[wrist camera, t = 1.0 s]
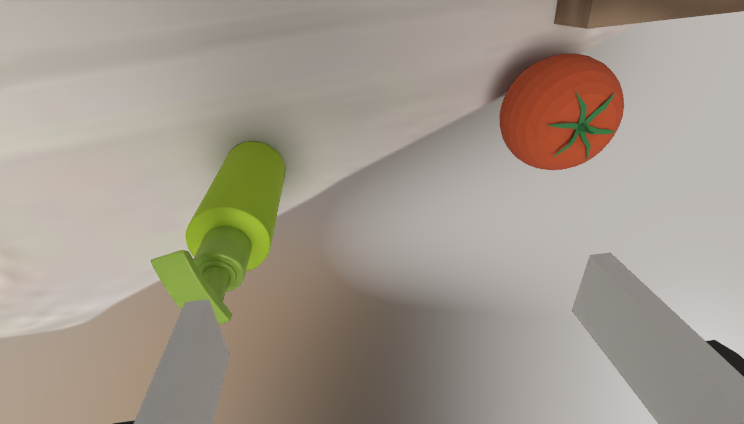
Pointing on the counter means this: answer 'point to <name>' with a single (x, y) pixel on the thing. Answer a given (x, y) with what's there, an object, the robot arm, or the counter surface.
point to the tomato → (561, 111)
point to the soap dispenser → (227, 229)
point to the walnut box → (637, 11)
